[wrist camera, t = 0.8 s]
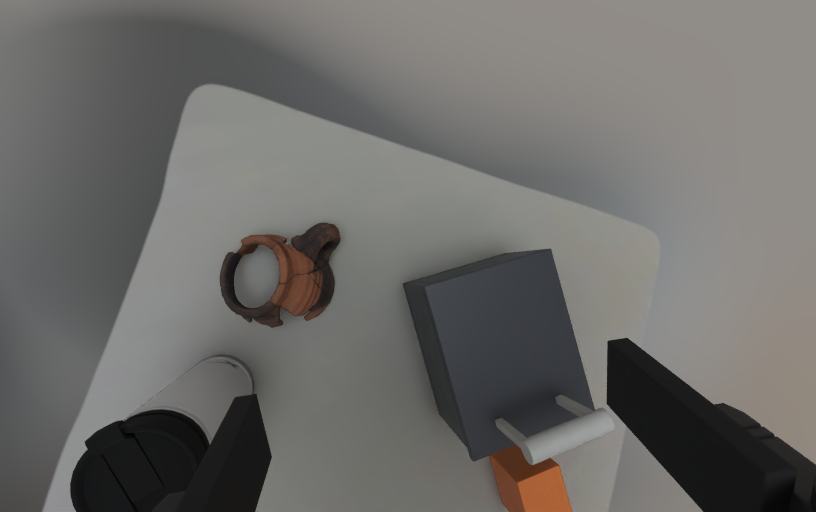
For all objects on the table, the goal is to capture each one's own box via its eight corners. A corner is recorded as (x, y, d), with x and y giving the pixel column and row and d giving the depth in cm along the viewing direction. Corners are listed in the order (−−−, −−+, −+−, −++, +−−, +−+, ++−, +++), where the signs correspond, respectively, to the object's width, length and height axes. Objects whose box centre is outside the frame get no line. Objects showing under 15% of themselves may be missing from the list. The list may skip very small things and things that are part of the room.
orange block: (539, 488, 48) (575, 524, 41) (502, 503, 47) (533, 543, 40) (525, 437, 48) (559, 465, 41) (488, 452, 47) (517, 482, 40)
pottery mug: (304, 345, 44) (251, 350, 36) (251, 284, 47) (192, 277, 39) (378, 257, 43) (340, 243, 35) (319, 201, 46) (272, 176, 38)
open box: (539, 377, 49) (587, 401, 40) (439, 415, 46) (467, 448, 37) (504, 253, 48) (545, 249, 40) (402, 283, 46) (421, 286, 37)
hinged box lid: (589, 409, 40) (652, 441, 32) (469, 457, 37) (507, 504, 30) (545, 249, 39) (599, 243, 32) (422, 286, 37) (448, 290, 29)
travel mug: (234, 340, 42) (158, 399, 22) (265, 398, 42) (218, 506, 23) (172, 371, 41) (35, 464, 21) (204, 431, 41) (100, 575, 22)
